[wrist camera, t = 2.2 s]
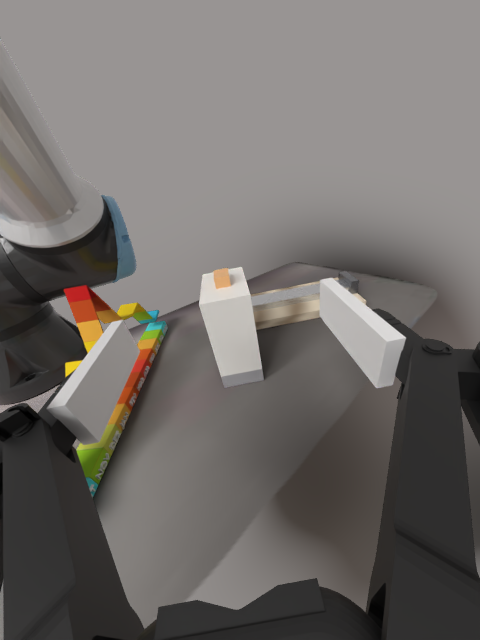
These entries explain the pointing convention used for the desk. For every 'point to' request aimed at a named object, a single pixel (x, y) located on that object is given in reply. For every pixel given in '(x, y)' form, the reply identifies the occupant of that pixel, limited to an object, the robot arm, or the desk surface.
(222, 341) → the breaker module
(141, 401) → the desk surface
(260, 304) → the steel rail
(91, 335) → the chart
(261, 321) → the rail board
